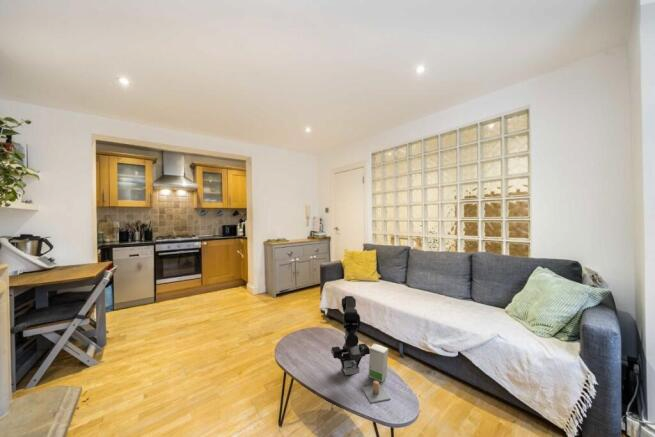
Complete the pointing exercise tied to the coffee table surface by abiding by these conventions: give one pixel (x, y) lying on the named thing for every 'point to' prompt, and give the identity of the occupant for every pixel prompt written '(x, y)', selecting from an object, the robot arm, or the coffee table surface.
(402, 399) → the coffee table surface
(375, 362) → the skincare box
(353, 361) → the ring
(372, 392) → the piston base
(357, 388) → the coffee table surface
